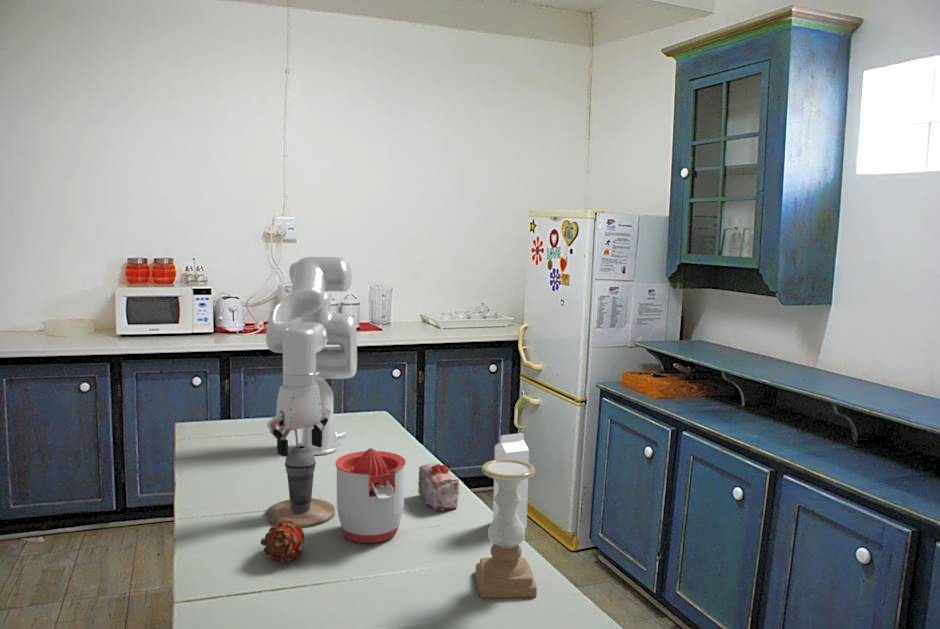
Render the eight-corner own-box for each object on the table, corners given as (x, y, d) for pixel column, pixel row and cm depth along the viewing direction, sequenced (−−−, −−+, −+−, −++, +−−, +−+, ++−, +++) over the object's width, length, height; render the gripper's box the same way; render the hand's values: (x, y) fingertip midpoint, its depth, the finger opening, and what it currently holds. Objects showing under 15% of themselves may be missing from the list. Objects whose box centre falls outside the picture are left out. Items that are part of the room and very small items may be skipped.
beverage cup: (308, 517, 175) (308, 433, 173) (279, 513, 176) (279, 431, 174) (320, 505, 182) (320, 425, 180) (293, 502, 184) (292, 423, 181)
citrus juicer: (350, 557, 157) (350, 465, 155) (326, 526, 172) (326, 442, 170) (419, 544, 164) (420, 456, 162) (390, 515, 180) (390, 434, 177)
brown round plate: (307, 497, 190) (307, 492, 190) (348, 514, 180) (348, 510, 180) (252, 514, 178) (252, 510, 178) (292, 534, 168) (292, 529, 168)
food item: (463, 510, 184) (463, 471, 183) (433, 515, 181) (433, 475, 179) (441, 491, 196) (442, 455, 195) (412, 495, 193) (413, 458, 192)
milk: (526, 528, 174) (530, 436, 171) (503, 532, 172) (506, 439, 169) (514, 518, 180) (518, 429, 177) (492, 522, 177) (495, 431, 174)
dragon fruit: (284, 579, 150) (278, 562, 162) (318, 550, 153) (309, 535, 164) (257, 548, 149) (252, 533, 160) (292, 519, 151) (285, 506, 162)
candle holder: (474, 571, 152) (477, 458, 149) (528, 570, 153) (531, 457, 150) (480, 598, 141) (483, 476, 138) (537, 597, 142) (541, 476, 139)
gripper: (319, 372, 184) (319, 439, 186) (258, 382, 171) (259, 455, 173) (339, 376, 179) (339, 446, 181) (277, 388, 166) (278, 462, 168)
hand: (300, 450), depth 177 cm, fingers open, 9 cm apart
